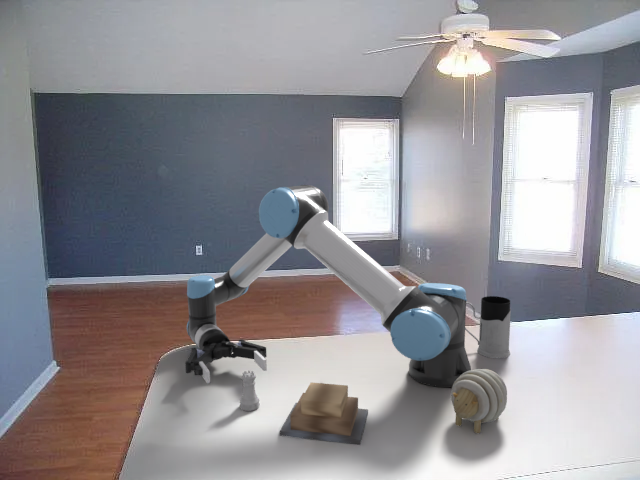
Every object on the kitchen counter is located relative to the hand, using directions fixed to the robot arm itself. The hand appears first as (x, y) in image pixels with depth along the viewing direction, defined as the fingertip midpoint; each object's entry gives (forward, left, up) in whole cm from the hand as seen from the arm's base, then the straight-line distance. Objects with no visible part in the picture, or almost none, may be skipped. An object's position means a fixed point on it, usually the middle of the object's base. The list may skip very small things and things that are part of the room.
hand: (237, 371), depth 118 cm
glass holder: (-58, -38, -6) cm, 69 cm away
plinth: (-23, +9, -6) cm, 25 cm away
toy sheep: (-54, +2, -6) cm, 54 cm away
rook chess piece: (-5, +5, -6) cm, 9 cm away
